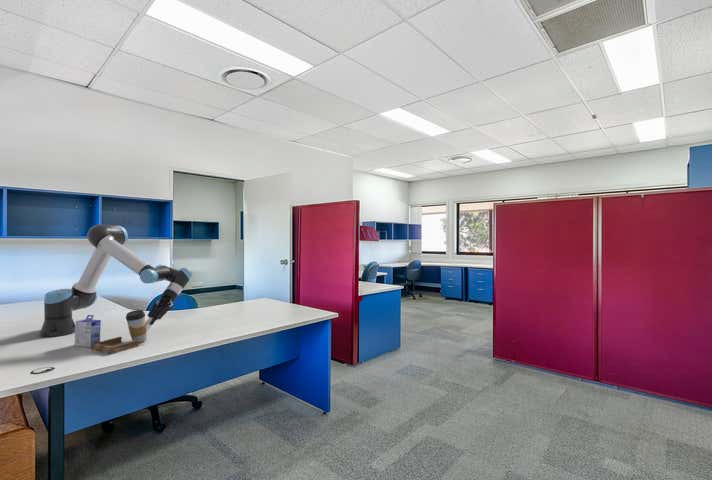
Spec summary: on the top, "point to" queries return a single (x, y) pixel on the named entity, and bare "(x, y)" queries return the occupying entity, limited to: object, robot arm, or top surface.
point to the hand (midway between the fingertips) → (144, 329)
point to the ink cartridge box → (87, 331)
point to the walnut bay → (110, 349)
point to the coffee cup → (137, 325)
